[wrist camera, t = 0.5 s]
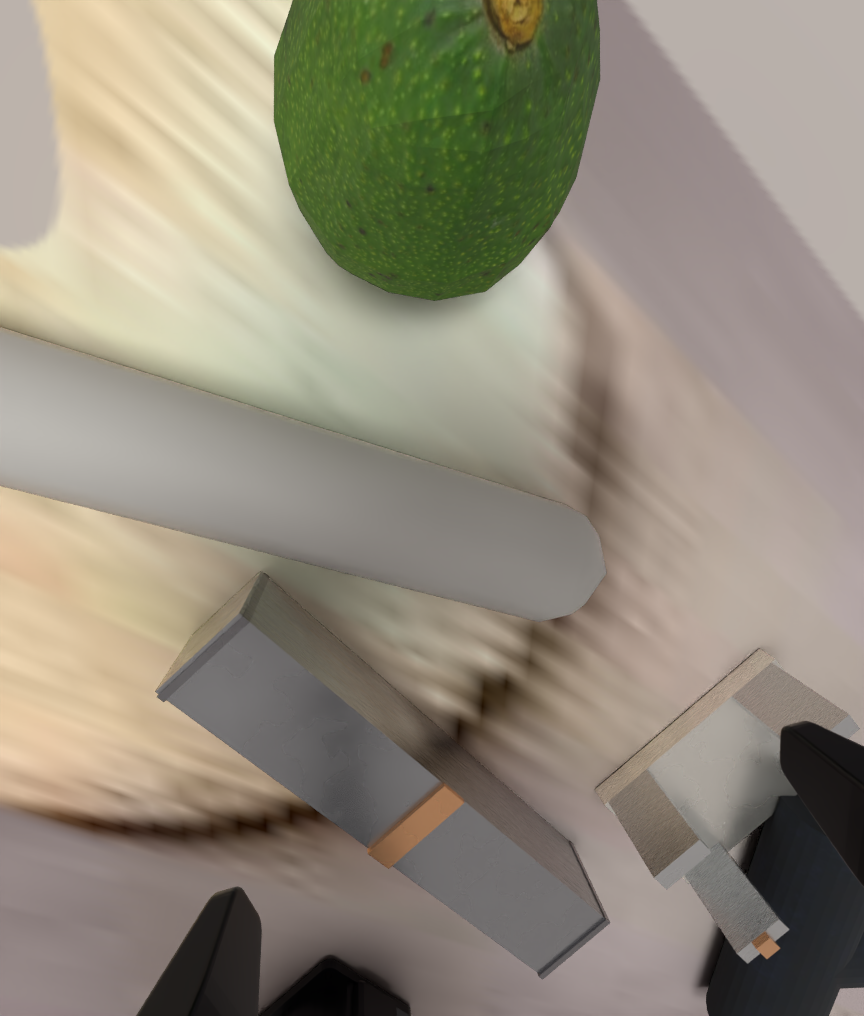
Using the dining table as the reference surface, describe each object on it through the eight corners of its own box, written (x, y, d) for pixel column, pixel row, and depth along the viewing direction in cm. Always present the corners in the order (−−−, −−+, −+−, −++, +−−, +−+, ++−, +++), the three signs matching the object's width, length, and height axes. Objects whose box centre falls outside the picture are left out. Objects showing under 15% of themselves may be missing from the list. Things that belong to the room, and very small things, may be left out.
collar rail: (677, 867, 28) (748, 974, 23) (595, 789, 26) (653, 888, 21) (830, 739, 27) (938, 820, 22) (759, 648, 25) (861, 715, 20)
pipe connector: (1040, 858, 25) (931, 1078, 28) (924, 777, 30) (844, 971, 33) (839, 858, 23) (749, 1093, 26) (753, 772, 28) (686, 977, 31)
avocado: (310, 321, 19) (237, 222, 7) (285, 71, 17) (130, -618, 5) (517, 315, 20) (744, 219, 8) (517, 79, 18) (813, -481, 6)
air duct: (574, 844, 27) (613, 926, 23) (516, 893, 27) (545, 983, 23) (261, 569, 21) (238, 614, 17) (191, 635, 21) (151, 696, 17)
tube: (645, 506, 18) (-176, 237, 13) (615, 651, 18) (-266, 433, 12) (570, 514, 24) (-38, 325, 18) (545, 627, 23) (-96, 466, 17)
